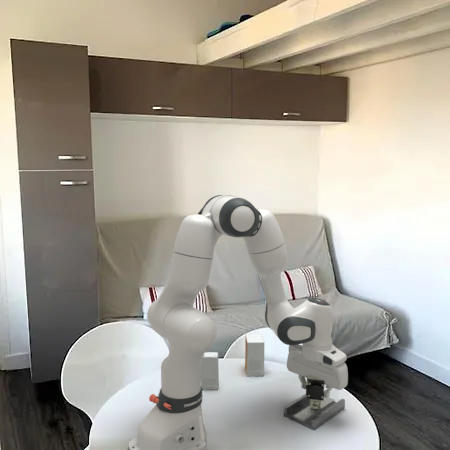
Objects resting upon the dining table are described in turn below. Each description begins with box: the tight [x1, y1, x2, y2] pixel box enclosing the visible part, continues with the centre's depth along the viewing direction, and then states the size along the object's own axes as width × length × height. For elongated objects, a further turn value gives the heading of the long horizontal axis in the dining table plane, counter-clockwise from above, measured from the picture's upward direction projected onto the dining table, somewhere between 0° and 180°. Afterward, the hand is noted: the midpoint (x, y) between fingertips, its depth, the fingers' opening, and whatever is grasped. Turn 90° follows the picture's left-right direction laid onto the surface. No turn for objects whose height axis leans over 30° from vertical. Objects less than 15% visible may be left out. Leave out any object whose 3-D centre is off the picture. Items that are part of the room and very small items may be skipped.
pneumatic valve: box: [305, 374, 325, 410], centre depth 158 cm, size 6×12×12 cm, turn 168°
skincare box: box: [201, 351, 220, 391], centre depth 173 cm, size 6×4×12 cm
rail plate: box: [283, 393, 346, 431], centre depth 158 cm, size 17×11×3 cm, turn 136°
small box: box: [244, 333, 265, 377], centre depth 185 cm, size 8×6×13 cm
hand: (315, 392), depth 158 cm, fingers open, 6 cm apart
